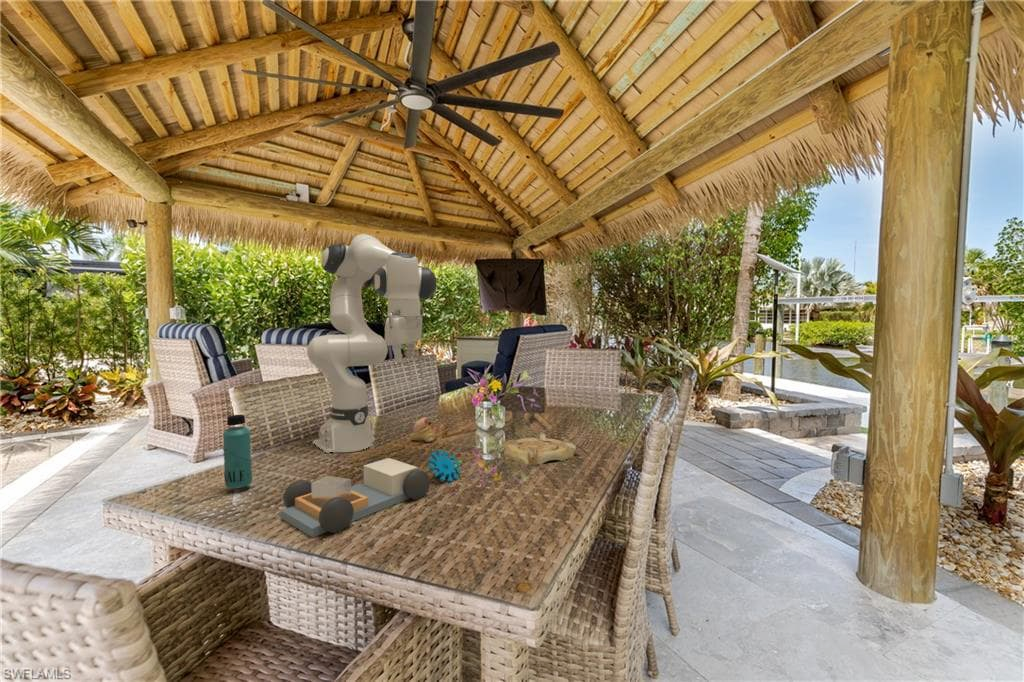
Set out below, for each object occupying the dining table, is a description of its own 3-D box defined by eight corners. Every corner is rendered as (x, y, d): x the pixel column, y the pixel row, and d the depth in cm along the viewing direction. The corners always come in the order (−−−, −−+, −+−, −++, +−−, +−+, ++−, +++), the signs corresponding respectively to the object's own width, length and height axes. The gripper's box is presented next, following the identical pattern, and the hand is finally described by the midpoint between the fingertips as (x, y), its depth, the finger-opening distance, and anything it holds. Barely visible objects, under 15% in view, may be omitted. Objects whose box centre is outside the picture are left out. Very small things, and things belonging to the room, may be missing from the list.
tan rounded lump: (444, 442, 169) (433, 428, 162) (419, 456, 168) (407, 442, 161) (437, 424, 175) (426, 410, 169) (413, 437, 175) (401, 423, 168)
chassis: (277, 516, 108) (276, 486, 107) (391, 477, 133) (391, 453, 132) (317, 540, 97) (316, 508, 96) (434, 492, 121) (433, 466, 121)
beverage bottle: (249, 482, 128) (246, 411, 127) (256, 489, 124) (253, 415, 122) (221, 489, 124) (218, 415, 122) (228, 496, 119) (225, 419, 118)
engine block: (312, 508, 108) (311, 482, 107) (327, 499, 112) (326, 475, 112) (336, 512, 105) (335, 486, 105) (351, 504, 110) (350, 479, 109)
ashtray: (584, 464, 145) (585, 448, 144) (509, 468, 141) (509, 452, 140) (563, 442, 168) (563, 428, 168) (498, 445, 164) (498, 431, 164)
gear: (437, 481, 125) (425, 449, 130) (426, 492, 128) (416, 460, 133) (469, 477, 132) (457, 446, 138) (459, 487, 135) (447, 457, 141)
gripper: (401, 310, 121) (402, 363, 122) (425, 309, 141) (426, 355, 143) (378, 310, 122) (379, 363, 123) (405, 309, 142) (406, 354, 143)
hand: (404, 358), depth 133 cm, fingers open, 8 cm apart
